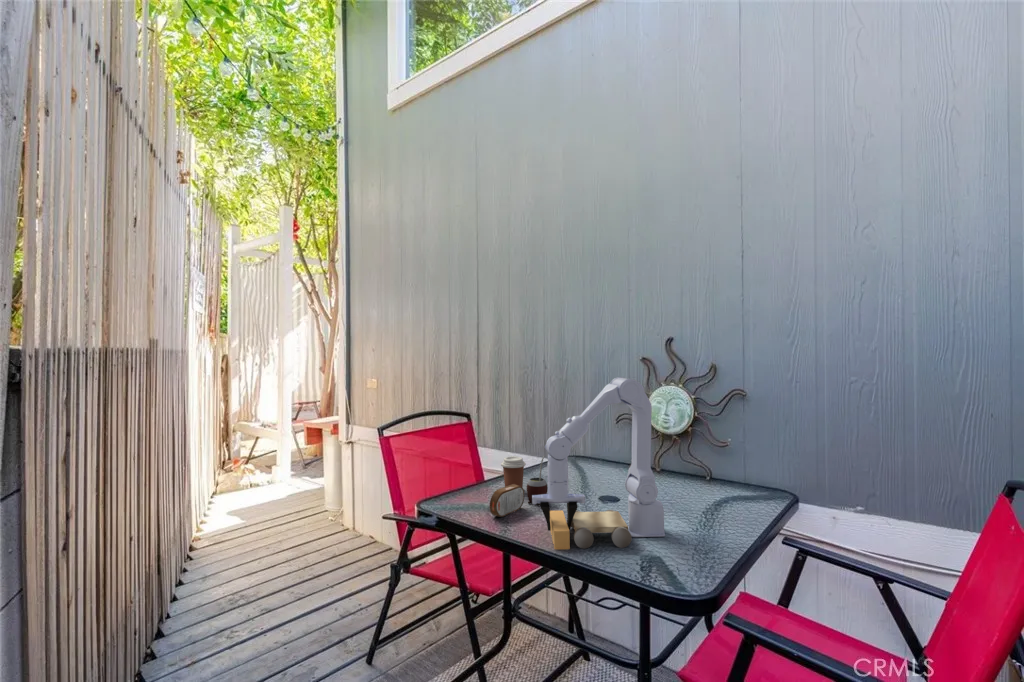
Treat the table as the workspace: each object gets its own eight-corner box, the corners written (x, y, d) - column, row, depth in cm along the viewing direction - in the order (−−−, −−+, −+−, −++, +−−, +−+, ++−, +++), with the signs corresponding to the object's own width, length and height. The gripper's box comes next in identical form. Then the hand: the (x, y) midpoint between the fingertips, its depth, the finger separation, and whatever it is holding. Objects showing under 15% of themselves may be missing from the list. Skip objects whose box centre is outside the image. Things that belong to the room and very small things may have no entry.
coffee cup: (499, 494, 176) (499, 461, 176) (503, 487, 185) (502, 455, 185) (524, 494, 175) (524, 461, 175) (527, 487, 184) (526, 455, 184)
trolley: (618, 526, 143) (618, 509, 143) (631, 547, 128) (631, 528, 128) (567, 527, 143) (567, 510, 143) (574, 548, 128) (574, 529, 128)
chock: (563, 527, 144) (562, 510, 144) (569, 550, 128) (569, 531, 128) (549, 527, 144) (549, 510, 144) (554, 550, 128) (554, 531, 128)
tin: (519, 506, 163) (518, 480, 163) (526, 508, 161) (526, 482, 161) (488, 519, 151) (488, 491, 151) (496, 521, 149) (495, 493, 149)
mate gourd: (529, 507, 162) (529, 461, 162) (524, 500, 169) (523, 456, 170) (551, 505, 163) (550, 460, 163) (545, 498, 171) (544, 455, 171)
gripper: (582, 475, 139) (582, 523, 139) (531, 476, 139) (532, 524, 139) (585, 482, 132) (586, 532, 132) (532, 483, 132) (533, 533, 132)
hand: (558, 529), depth 135 cm, fingers open, 5 cm apart
